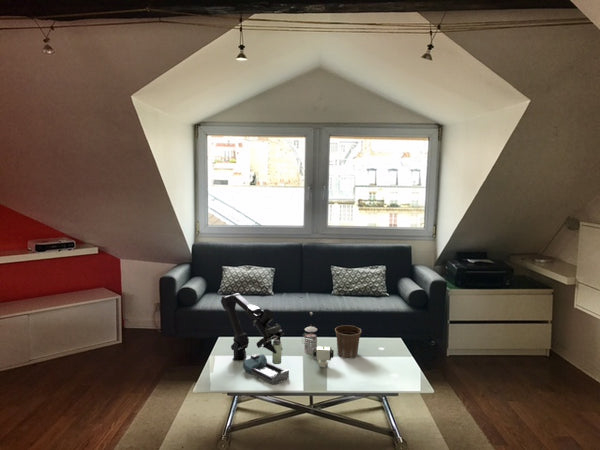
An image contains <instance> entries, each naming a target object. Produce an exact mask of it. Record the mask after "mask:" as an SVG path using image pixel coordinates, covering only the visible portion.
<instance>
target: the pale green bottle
mask: <svg viewBox="0 0 600 450" xmlns="http://www.w3.org/2000/svg"><path fill="white" fill-rule="evenodd" d="M273 341H274V340H273ZM280 341H281V339H280V340H275V341H274V343H273V342H272V345H273V347H274V349H275V350H276V352H277V353H276V354H275V353H273V352H271V355H272V357H271V359H272V363H271V364H273V365H281V364H282V351H283V346H282V342H281V343H280Z"/></svg>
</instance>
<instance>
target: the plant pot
mask: <svg viewBox="0 0 600 450" xmlns="http://www.w3.org/2000/svg"><path fill="white" fill-rule="evenodd" d="M334 331H335V337H336V347H337V355H338V356H339V357H340V358H342V359H346V360H350V359H355V358H357V356H358V353H359V344H360V343H359V342H360V338H361V334H362V329H361V328H359V327H357V326H355V325H340V326H337V327H335V328H334Z"/></svg>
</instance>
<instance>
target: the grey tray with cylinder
mask: <svg viewBox="0 0 600 450" xmlns="http://www.w3.org/2000/svg"><path fill="white" fill-rule="evenodd" d="M242 367H243V370H244V372H246V373H247V374H249V373H250V375H252V376H253V377H256V378H258V379H259V380H261V381H264V382H265V383H267V384H270V386H275V385H277V383H278V384H280V383H282V382H284V381H286V380H289V379H290V369H288V368H287V369H283V368H282V367H279V366H278V365H276V364H273V363H271V362H269V361H268V360H267V357H266V355H264V354H263V353H261V354H258V353H253V354H251V355H250V358H248V359H244V360H243V361H242ZM281 381H282V382H281ZM279 382H280V383H279Z"/></svg>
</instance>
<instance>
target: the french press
mask: <svg viewBox="0 0 600 450" xmlns="http://www.w3.org/2000/svg"><path fill="white" fill-rule="evenodd" d="M309 315H314V313H313V312H312V311H310V312H309ZM304 331H305V332H304V333H303V335H301V336H302V337H301V338H304V340H301V342H302V344H304V348H303V349H302V352H304V353H306V354H309V355H310V354H312V355H313V349H316V346H318V337H317V335H316V334H315V332H317V331H318V328H316V326H312V325H310V326H307V327H305V328H304ZM306 332H307V333H306Z"/></svg>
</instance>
